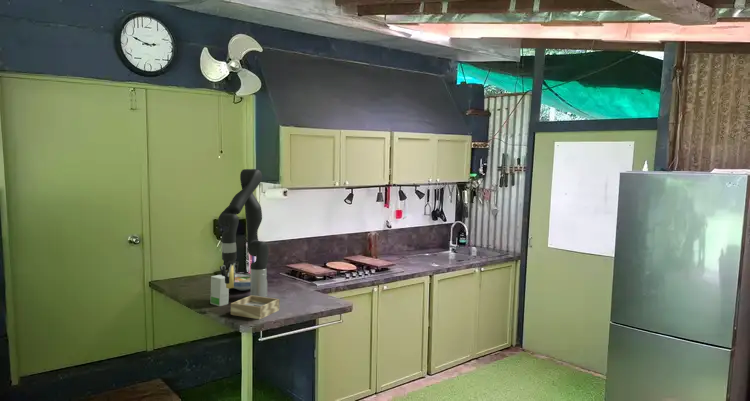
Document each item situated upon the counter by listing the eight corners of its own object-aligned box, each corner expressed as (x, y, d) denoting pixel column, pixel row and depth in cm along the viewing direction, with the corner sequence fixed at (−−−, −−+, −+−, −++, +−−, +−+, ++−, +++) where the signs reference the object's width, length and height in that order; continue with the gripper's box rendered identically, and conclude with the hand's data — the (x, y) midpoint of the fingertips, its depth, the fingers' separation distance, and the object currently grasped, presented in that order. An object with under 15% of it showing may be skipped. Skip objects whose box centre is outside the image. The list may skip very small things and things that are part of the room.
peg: (229, 286, 282) (228, 264, 281) (235, 286, 280) (234, 264, 279) (224, 287, 278) (224, 265, 277) (230, 288, 277) (230, 266, 275)
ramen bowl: (215, 290, 319) (215, 277, 318) (241, 283, 339) (241, 270, 338) (246, 296, 307) (246, 282, 306) (271, 288, 327) (271, 275, 327)
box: (251, 306, 286) (251, 295, 286) (279, 310, 280) (279, 299, 279) (230, 314, 270) (230, 303, 269) (260, 319, 263) (260, 307, 263)
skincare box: (210, 304, 289) (209, 276, 288) (219, 301, 295) (219, 274, 293) (220, 306, 284) (220, 278, 283) (229, 303, 290) (229, 276, 289)
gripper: (231, 248, 285) (232, 278, 287) (214, 252, 272) (215, 284, 274) (243, 249, 282) (243, 280, 284) (226, 253, 269) (227, 286, 271)
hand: (229, 282), depth 279 cm, fingers closed on peg, 4 cm apart
